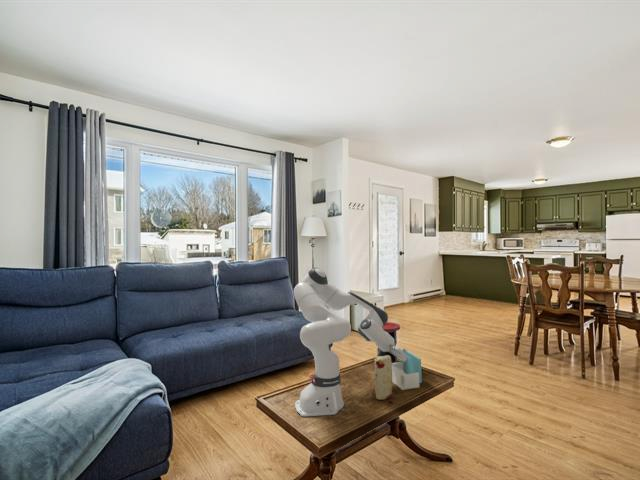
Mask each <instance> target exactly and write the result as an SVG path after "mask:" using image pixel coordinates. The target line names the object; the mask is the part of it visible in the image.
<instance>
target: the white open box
mask: <svg viewBox="0 0 640 480" xmlns="http://www.w3.org/2000/svg"><path fill="white" fill-rule="evenodd" d="M391 363H392V362H391ZM392 383H393V384H395V385H396V386H397V387H398V388H399V389H401V390H402V391H404V390H410V389H411V390H412V389H417V388H420V383H419V373H418V372H417V373H411V374H407V373H406V372H404V363H403V361H397V363H392Z"/></svg>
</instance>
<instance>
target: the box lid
mask: <svg viewBox="0 0 640 480" xmlns="http://www.w3.org/2000/svg"><path fill="white" fill-rule="evenodd" d="M402 351H403V352H404V353H405V354H406V355H407V356H408V358H407V360H406V361H405V362H403V361H402V362H403V363H404V372H405V373H406V374H411V373H417V372H418V373H419V384H421V383H422V381H423V380H422V377H423V376H422V359H421V358H420V357H418V356H417V355H415V354H414V353H412V352H410V351H409V350H407V349H405V348H402Z"/></svg>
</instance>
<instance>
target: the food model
mask: <svg viewBox="0 0 640 480" xmlns="http://www.w3.org/2000/svg"><path fill="white" fill-rule="evenodd" d="M374 363H375V369H374V372H373V373H374V374H373V375H374V378H373V379H374V390H375V398H376V399H377V400H387V399H390V398H391V397H392V394H393V393H392V391H393V382H392V363H391V357H390V356H389V355H386V356H377V355H376V357H375V358H374Z"/></svg>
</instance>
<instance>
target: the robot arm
mask: <svg viewBox="0 0 640 480" xmlns="http://www.w3.org/2000/svg"><path fill="white" fill-rule="evenodd" d="M293 297H294V299H295V301H296V304H297V306H298V308H299V310H300V312H301V313H302V316H303V317H304V319H305V320H307V321H308V322H310V323H307V324H305V325H303V326H302V327H301V328H300V332H299V340H300V341H301V343H302V344H303V346H305V347H306V348H308V350H309V351H311V353H312V357H314V358H313V359H314V367H315V369H314V370H315V373H314V374H313V373H309V374H308V378H309V379H310V381H311V382H310V383H308V385H307V386H306V387H304V388H303V389H302V390H301V391H300V394H299V399H298V400H296V401H295V403H294V409H295V408H296V409H295V412H296V413H297V412H298V413H299V414H300V415H299V414H298V413H297V414H298V415H299V416H301V417H315V416H316V417H318V416H319V417H320V416H331V415H332V416H333V415H336V414H337V413H338V412H339V411H340V410H341V409H343V407H344V406H345V402H344V400H343V399H344V398H343V396H342V390H341V386H342V385H341V384H342V378H341V373H340V358H339V356H338V355H337V353H335V352H334V351H332V350H330V347H329V346H330V345H331V344H335V343H340V342H342V341H344V340H346V339H348V338H349V337H350V336H351V331H352V327H351V325H350V322H349V321H348V320H347V319H346V318H344V317H341V316H339V315H337V314H335V313H333V312H332V311H341V310H344V309H345V308H347V307H349V306H351V305H358V306H360V307H362V308H363V309H366V310H367V311H368V312H369V313H368V315H366V316H365V318H364V319H363V320H362V321H361V322H360V324H359V325H358V327H357V332H358V335H359V336H361V337H362V338H363V339H364V340H365V341H366V342H372V343H374V345H375V346H376V347H377V348H378V347H379V348H380V349H381V350H382V351H383V352H386V351H387V352H390V353H392V354H393V355H394V356H396V357H397V359H399V360H400V361H401V362H405V361H406V360H407V358H408V356H407V355H406V354H405V353H404V352H403V349H401V348H399V347H398V346H397V345H396V346H395V343H394V338H393V337H392V336H391V335H389V334H388V333H387V332H386V331H384V330H383V328H382V326H383V325H384V324H385V323H386V322H389V316H388V313H387V312H386V311H385V310H384V309H383V308H380V307H378V306H376V305H374V304H373V303H371V302H369V301H368V300H366V299H365V298H362V297H361V296H359V295H357V294H356V293H353V292H352V291H347V292H345V291H342V290H341V289H339V288H338V287H336V286H335V285H334V284H332V283H331V282H329V281H328V276H327V273H326V272H324V270H322V269H321V268H318V267H312V268H311V269H310V270H309V271H308V273H306V275H305V276H304V277H303V278H302V279H301V280H300V281H299V282H298V283H297V284H296V285H295V287H294V288H293ZM326 306H327V307H328V308H330V309H331V310H332V311H331V310H330V309H328V308H327V307H326Z"/></svg>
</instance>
